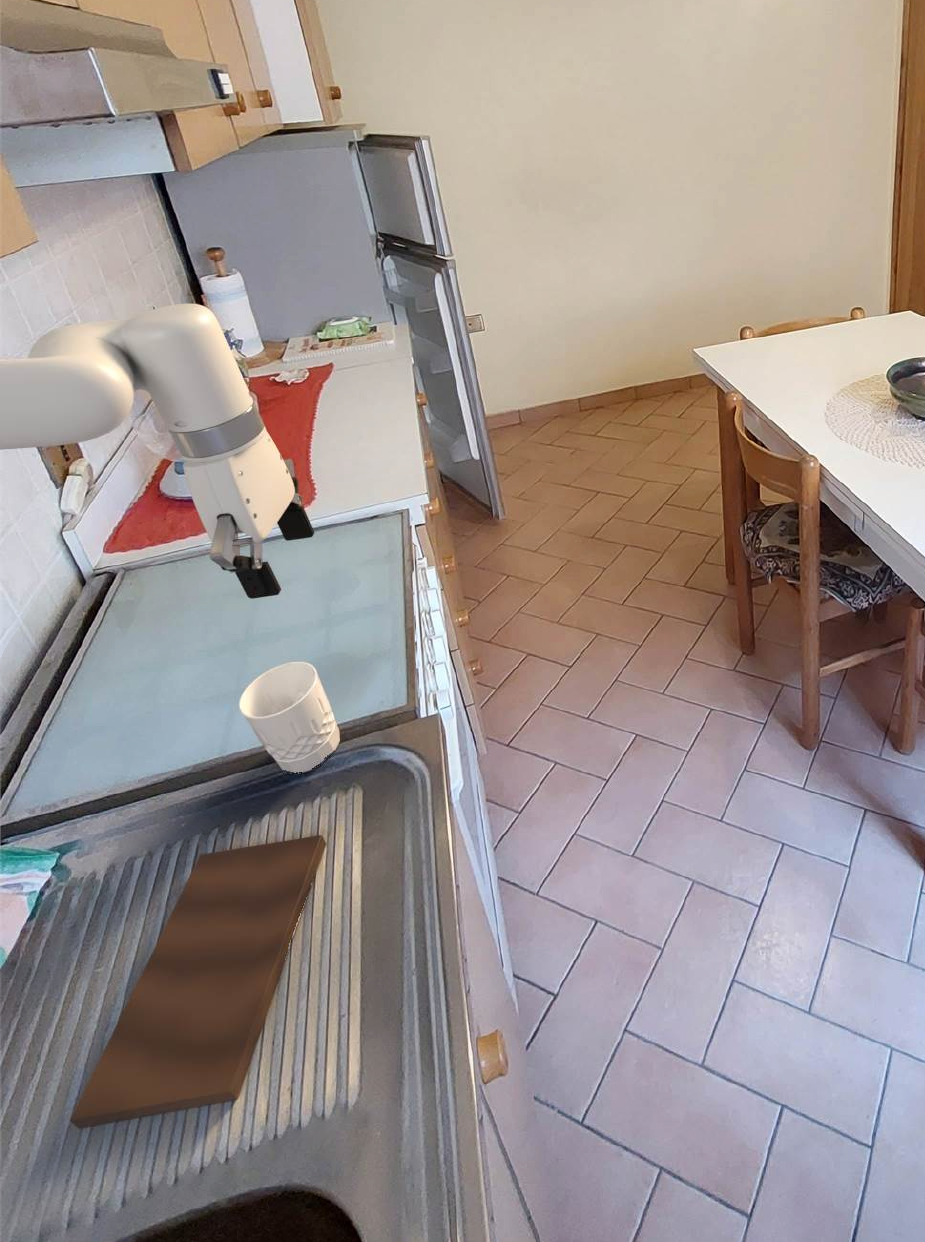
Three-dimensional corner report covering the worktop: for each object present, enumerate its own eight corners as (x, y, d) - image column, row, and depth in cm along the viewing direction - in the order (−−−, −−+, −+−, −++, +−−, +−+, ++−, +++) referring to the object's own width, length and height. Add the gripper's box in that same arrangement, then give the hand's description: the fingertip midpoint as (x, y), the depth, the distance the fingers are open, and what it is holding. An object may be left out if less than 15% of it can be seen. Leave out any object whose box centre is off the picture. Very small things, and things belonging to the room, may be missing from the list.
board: (206, 863, 77) (200, 854, 76) (326, 843, 78) (321, 834, 77) (78, 1129, 59) (68, 1121, 58) (237, 1100, 59) (229, 1091, 59)
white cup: (257, 773, 86) (221, 713, 81) (304, 716, 93) (274, 657, 88) (315, 784, 84) (282, 722, 79) (360, 725, 91) (331, 665, 86)
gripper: (220, 395, 82) (280, 523, 90) (130, 483, 67) (211, 626, 75) (291, 386, 83) (344, 513, 91) (217, 471, 67) (288, 615, 76)
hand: (284, 564), depth 83 cm, fingers open, 9 cm apart
